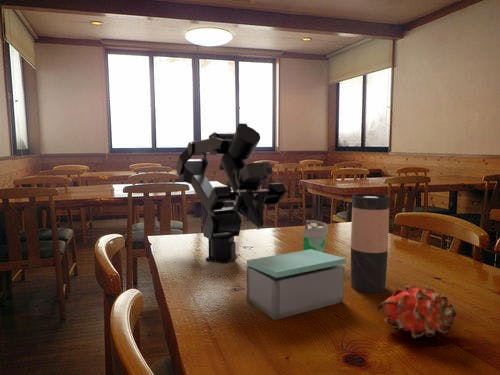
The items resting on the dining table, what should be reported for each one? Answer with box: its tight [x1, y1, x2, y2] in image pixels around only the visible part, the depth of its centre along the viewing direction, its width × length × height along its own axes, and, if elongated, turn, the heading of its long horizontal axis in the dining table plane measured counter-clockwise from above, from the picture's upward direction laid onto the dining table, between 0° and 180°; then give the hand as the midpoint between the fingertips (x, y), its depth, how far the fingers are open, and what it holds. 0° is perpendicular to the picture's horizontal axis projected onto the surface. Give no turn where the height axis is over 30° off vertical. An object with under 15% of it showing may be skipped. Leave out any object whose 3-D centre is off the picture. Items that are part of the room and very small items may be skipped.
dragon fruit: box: [376, 284, 458, 339], centre depth 63 cm, size 8×8×12 cm
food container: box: [302, 219, 329, 253], centre depth 101 cm, size 12×6×10 cm, turn 168°
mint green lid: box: [246, 249, 347, 278], centre depth 75 cm, size 10×16×1 cm, turn 120°
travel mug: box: [350, 193, 390, 294], centre depth 83 cm, size 8×8×20 cm
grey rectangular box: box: [246, 265, 345, 321], centre depth 76 cm, size 10×16×7 cm, turn 120°
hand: (261, 226), depth 86 cm, fingers closed
